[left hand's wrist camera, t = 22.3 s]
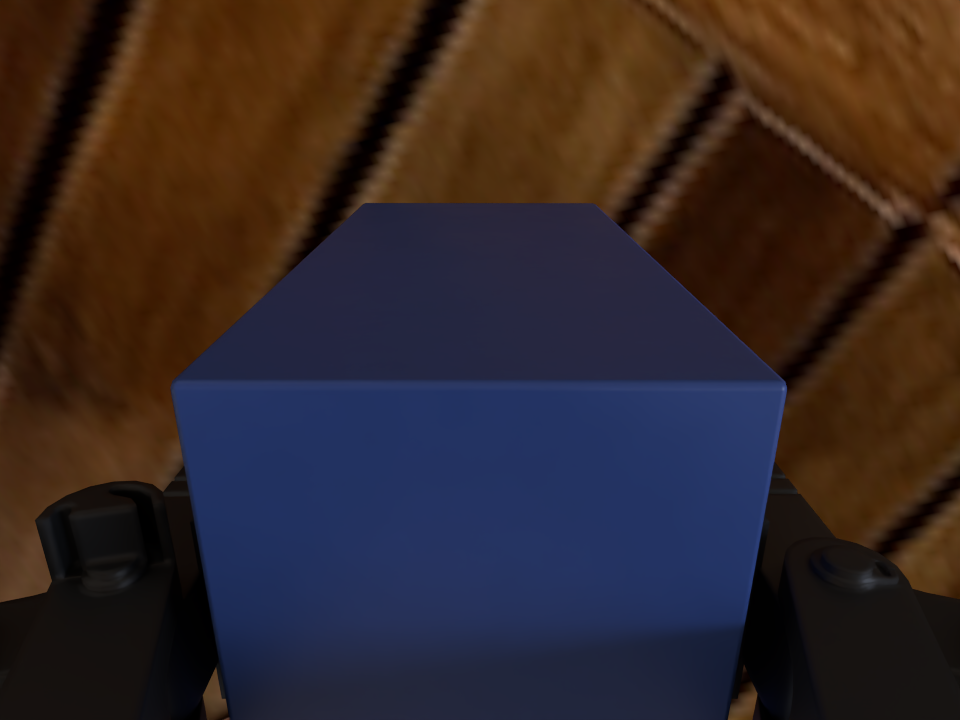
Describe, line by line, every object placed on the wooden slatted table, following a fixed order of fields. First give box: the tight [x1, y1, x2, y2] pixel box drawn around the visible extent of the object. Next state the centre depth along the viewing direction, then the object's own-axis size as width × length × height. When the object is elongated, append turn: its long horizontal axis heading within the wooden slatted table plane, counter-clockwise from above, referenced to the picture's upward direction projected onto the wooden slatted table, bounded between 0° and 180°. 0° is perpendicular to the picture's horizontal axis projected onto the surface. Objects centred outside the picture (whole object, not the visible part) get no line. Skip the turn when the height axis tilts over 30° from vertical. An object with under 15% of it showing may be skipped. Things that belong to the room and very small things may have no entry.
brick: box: [171, 203, 787, 720], centre depth 12 cm, size 5×8×10 cm
